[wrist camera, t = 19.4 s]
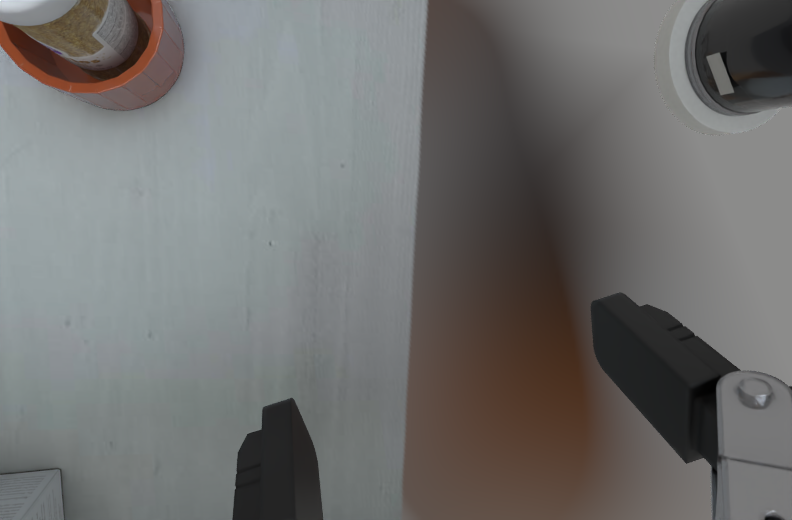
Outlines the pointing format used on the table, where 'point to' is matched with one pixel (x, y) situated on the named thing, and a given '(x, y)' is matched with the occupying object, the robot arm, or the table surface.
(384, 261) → the table surface
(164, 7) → the pot
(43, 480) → the cosmetic box
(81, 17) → the sprinkles bottle
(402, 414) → the table surface
